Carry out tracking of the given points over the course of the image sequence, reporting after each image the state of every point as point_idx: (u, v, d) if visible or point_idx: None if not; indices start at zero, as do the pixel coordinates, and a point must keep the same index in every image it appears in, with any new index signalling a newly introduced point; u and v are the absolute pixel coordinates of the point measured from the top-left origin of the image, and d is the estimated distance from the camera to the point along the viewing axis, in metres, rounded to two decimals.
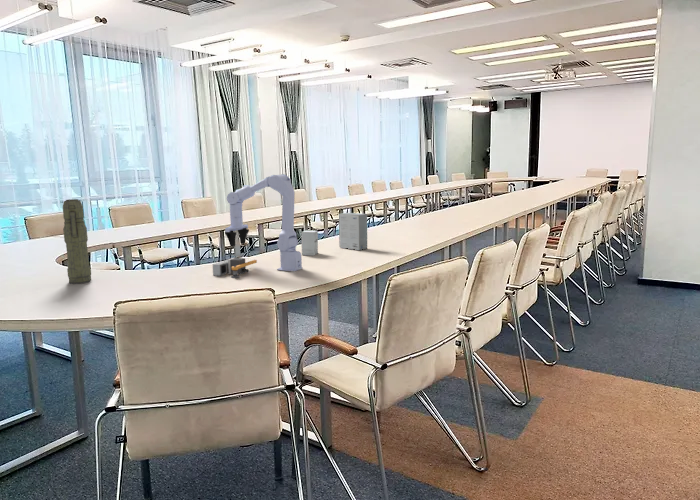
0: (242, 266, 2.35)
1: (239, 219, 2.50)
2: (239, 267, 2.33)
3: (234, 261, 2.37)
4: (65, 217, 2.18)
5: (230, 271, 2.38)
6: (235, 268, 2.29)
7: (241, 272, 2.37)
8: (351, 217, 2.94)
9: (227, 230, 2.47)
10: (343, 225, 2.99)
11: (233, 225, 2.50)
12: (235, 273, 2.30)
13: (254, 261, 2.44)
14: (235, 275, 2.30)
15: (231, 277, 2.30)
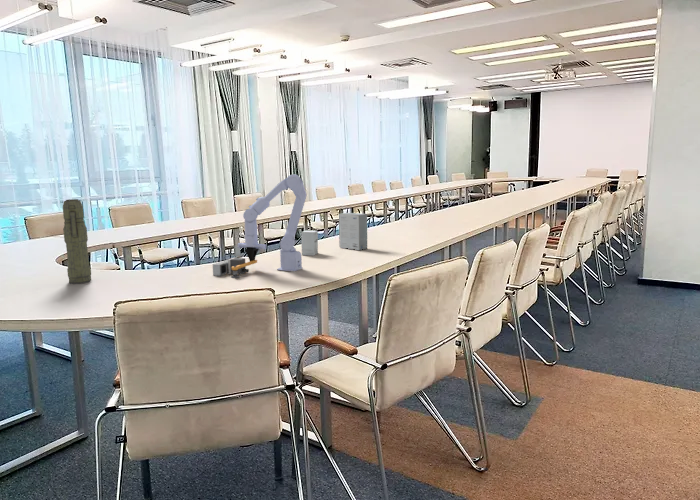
0: (242, 266, 2.35)
1: (246, 237, 2.41)
2: (239, 267, 2.33)
3: (234, 261, 2.37)
4: (65, 217, 2.18)
5: (230, 271, 2.38)
6: (235, 268, 2.29)
7: (241, 272, 2.37)
8: (351, 217, 2.94)
9: None
10: (343, 225, 2.99)
11: None
12: (235, 273, 2.30)
13: (254, 261, 2.44)
14: (235, 275, 2.30)
15: (231, 277, 2.30)
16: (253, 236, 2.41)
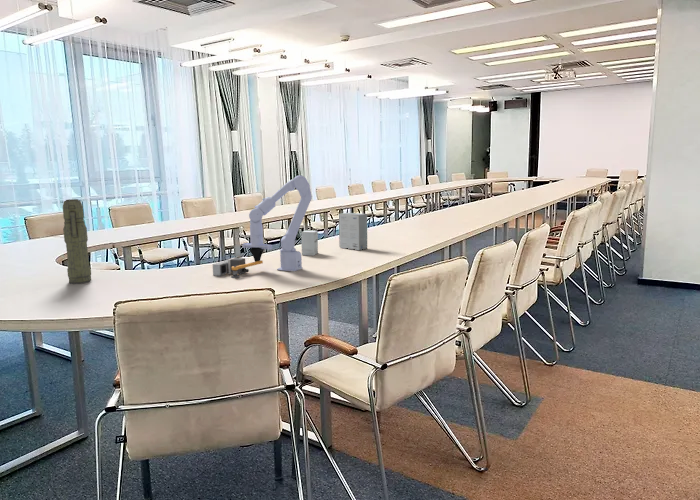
0: (244, 266, 2.34)
1: (251, 237, 2.40)
2: (240, 267, 2.32)
3: (234, 261, 2.36)
4: (65, 217, 2.18)
5: (230, 271, 2.38)
6: (234, 268, 2.29)
7: (241, 272, 2.37)
8: (351, 217, 2.94)
9: None
10: (343, 225, 2.99)
11: None
12: (235, 273, 2.30)
13: (259, 262, 2.42)
14: (235, 275, 2.30)
15: (231, 277, 2.30)
16: (258, 236, 2.39)
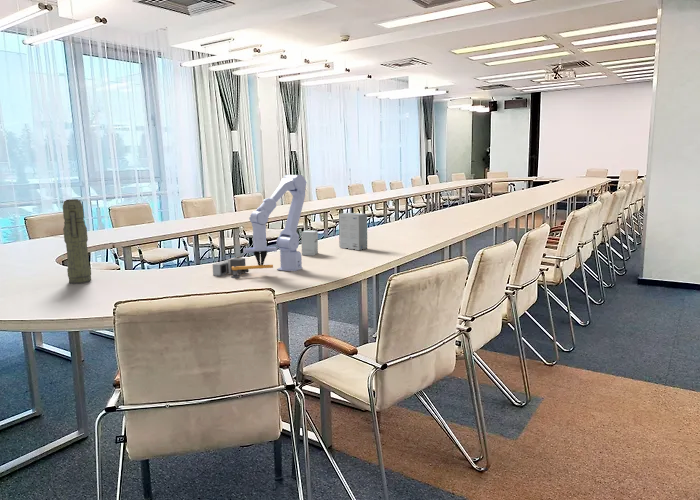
0: (246, 268, 2.31)
1: (258, 241, 2.30)
2: (240, 268, 2.31)
3: (234, 261, 2.37)
4: (65, 217, 2.18)
5: (230, 271, 2.38)
6: (232, 268, 2.29)
7: (241, 272, 2.37)
8: (351, 217, 2.94)
9: (243, 251, 2.31)
10: (343, 225, 2.99)
11: (253, 246, 2.32)
12: (235, 273, 2.30)
13: (268, 266, 2.33)
14: (235, 275, 2.30)
15: (231, 277, 2.30)
16: (265, 239, 2.32)
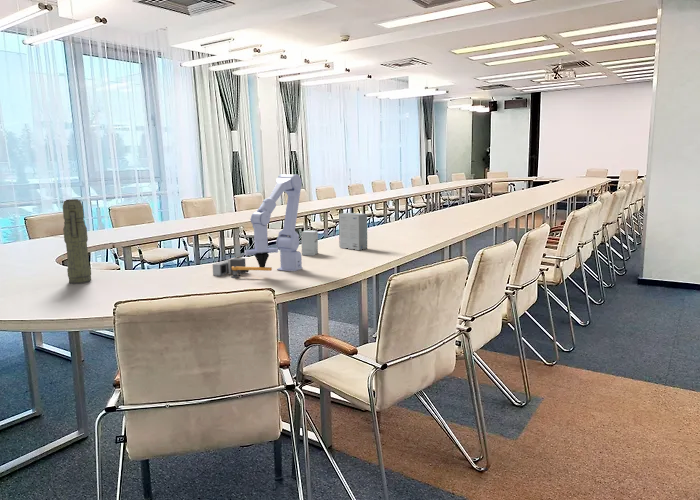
0: (245, 269, 2.29)
1: (260, 242, 2.26)
2: (239, 268, 2.30)
3: (234, 261, 2.37)
4: (65, 217, 2.18)
5: (230, 271, 2.38)
6: (232, 268, 2.30)
7: (241, 272, 2.37)
8: (351, 217, 2.94)
9: (245, 253, 2.26)
10: (343, 225, 2.99)
11: (255, 248, 2.28)
12: (235, 273, 2.30)
13: (266, 268, 2.28)
14: (235, 275, 2.30)
15: (231, 277, 2.30)
16: (267, 240, 2.29)
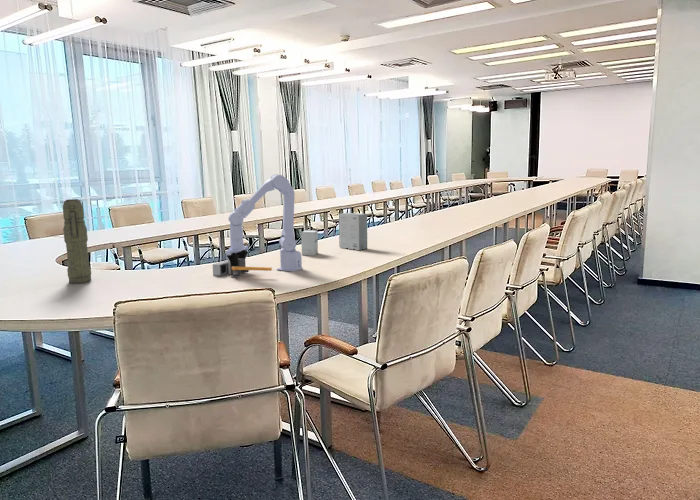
0: (245, 269, 2.29)
1: (240, 241, 2.35)
2: (239, 268, 2.30)
3: None
4: (65, 217, 2.18)
5: (230, 271, 2.38)
6: (232, 268, 2.30)
7: (241, 272, 2.37)
8: (351, 217, 2.94)
9: (228, 253, 2.31)
10: (343, 225, 2.99)
11: (234, 247, 2.35)
12: (235, 273, 2.30)
13: (266, 268, 2.28)
14: (235, 275, 2.30)
15: (231, 277, 2.30)
16: None
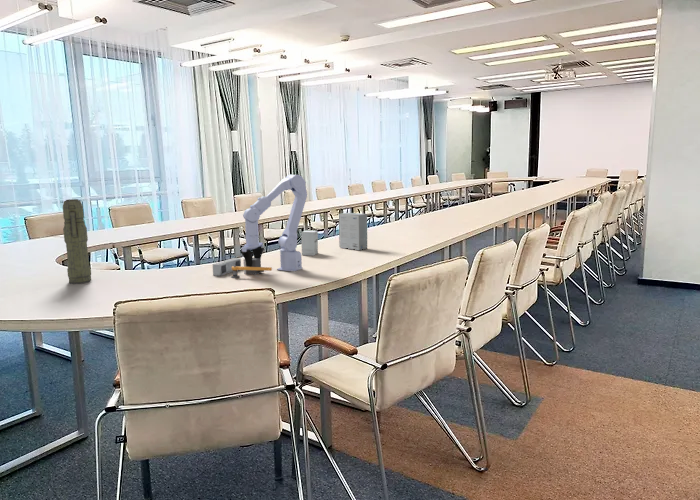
0: (245, 269, 2.29)
1: (256, 237, 2.35)
2: (239, 268, 2.30)
3: None
4: (65, 217, 2.18)
5: (245, 271, 2.38)
6: (232, 268, 2.30)
7: (257, 272, 2.37)
8: (351, 217, 2.94)
9: (244, 250, 2.30)
10: (343, 225, 2.99)
11: (249, 244, 2.34)
12: (235, 273, 2.30)
13: (266, 268, 2.28)
14: (235, 275, 2.30)
15: (231, 277, 2.30)
16: None
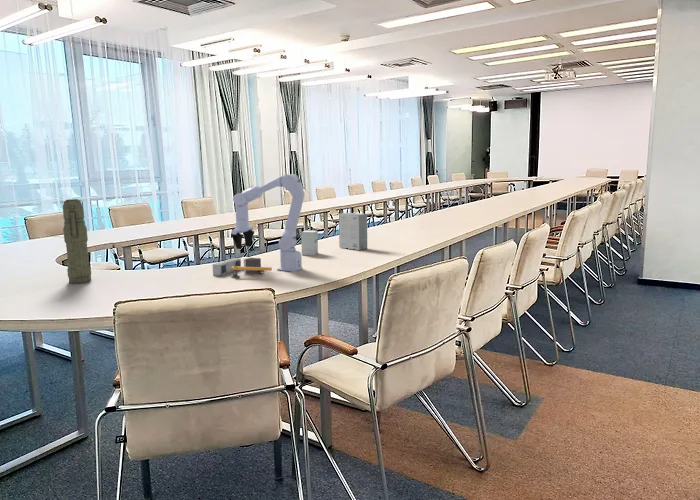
0: (245, 269, 2.29)
1: (245, 221, 2.44)
2: (239, 268, 2.30)
3: (250, 261, 2.36)
4: (65, 217, 2.18)
5: (245, 271, 2.38)
6: (232, 268, 2.30)
7: (257, 272, 2.37)
8: (351, 217, 2.94)
9: (234, 232, 2.40)
10: (343, 225, 2.99)
11: (239, 227, 2.44)
12: (235, 273, 2.30)
13: (266, 268, 2.28)
14: (235, 275, 2.30)
15: (231, 277, 2.30)
16: None
